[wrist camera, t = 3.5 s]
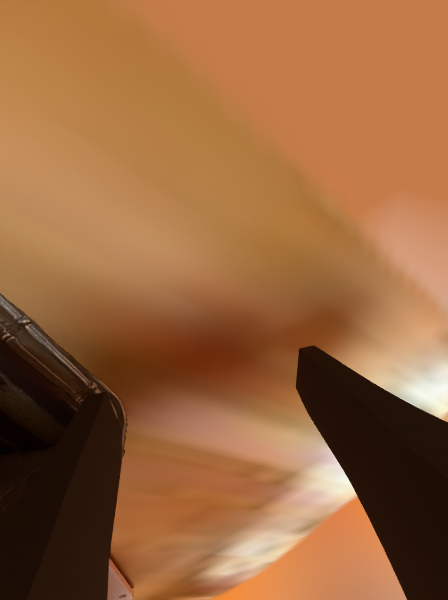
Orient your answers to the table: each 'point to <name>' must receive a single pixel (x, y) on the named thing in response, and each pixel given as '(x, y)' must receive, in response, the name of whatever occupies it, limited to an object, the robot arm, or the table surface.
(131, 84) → the table surface
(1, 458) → the chocolate cake
